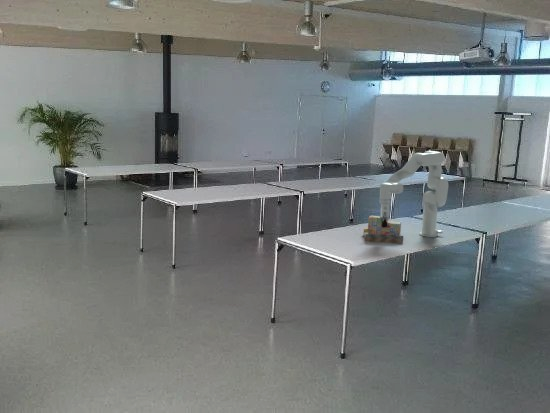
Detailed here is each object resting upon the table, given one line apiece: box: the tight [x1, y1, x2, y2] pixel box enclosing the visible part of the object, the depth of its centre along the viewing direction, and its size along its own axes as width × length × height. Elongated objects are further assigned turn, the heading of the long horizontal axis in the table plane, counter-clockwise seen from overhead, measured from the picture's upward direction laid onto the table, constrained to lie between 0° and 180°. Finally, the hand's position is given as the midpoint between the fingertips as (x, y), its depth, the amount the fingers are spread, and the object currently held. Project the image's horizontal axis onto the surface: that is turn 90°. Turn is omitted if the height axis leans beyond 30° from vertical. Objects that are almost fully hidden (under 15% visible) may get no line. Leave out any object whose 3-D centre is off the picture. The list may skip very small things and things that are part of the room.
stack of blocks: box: [367, 215, 402, 235], centre depth 369 cm, size 21×6×12 cm, turn 66°
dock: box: [363, 227, 404, 244], centre depth 370 cm, size 25×19×5 cm
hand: (383, 225), depth 369 cm, fingers open, 9 cm apart
